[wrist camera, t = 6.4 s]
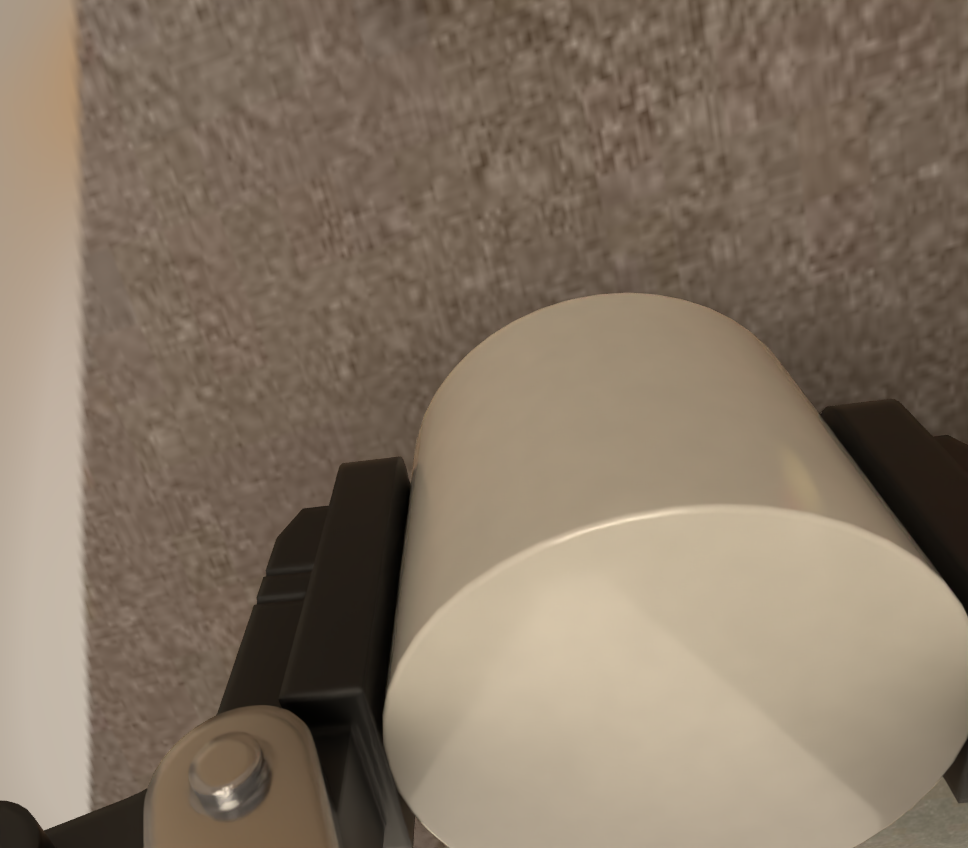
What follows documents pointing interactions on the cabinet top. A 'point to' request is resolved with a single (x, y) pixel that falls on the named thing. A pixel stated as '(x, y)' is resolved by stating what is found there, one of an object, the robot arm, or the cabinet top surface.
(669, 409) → the cream short cylinder
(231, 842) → the robot arm
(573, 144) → the cabinet top surface
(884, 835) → the stone
